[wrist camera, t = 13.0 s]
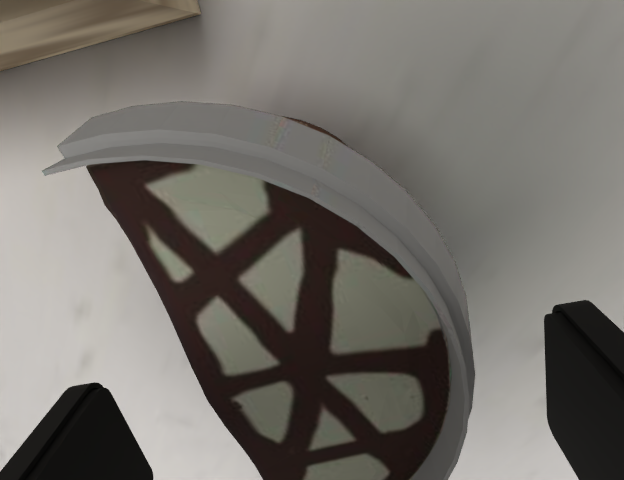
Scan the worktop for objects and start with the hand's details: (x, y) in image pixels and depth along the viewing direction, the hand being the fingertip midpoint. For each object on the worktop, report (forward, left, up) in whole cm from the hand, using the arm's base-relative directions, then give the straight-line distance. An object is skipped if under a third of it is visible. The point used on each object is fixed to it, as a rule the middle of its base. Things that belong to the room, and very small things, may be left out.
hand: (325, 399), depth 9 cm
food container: (0, -1, -10) cm, 10 cm away
